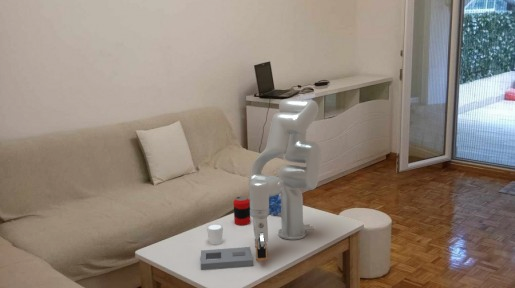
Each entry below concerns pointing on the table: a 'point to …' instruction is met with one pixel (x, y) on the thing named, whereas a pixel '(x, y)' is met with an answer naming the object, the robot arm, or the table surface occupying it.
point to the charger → (257, 252)
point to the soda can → (241, 211)
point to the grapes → (275, 204)
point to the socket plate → (226, 258)
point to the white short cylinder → (215, 233)
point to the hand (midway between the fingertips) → (260, 252)
